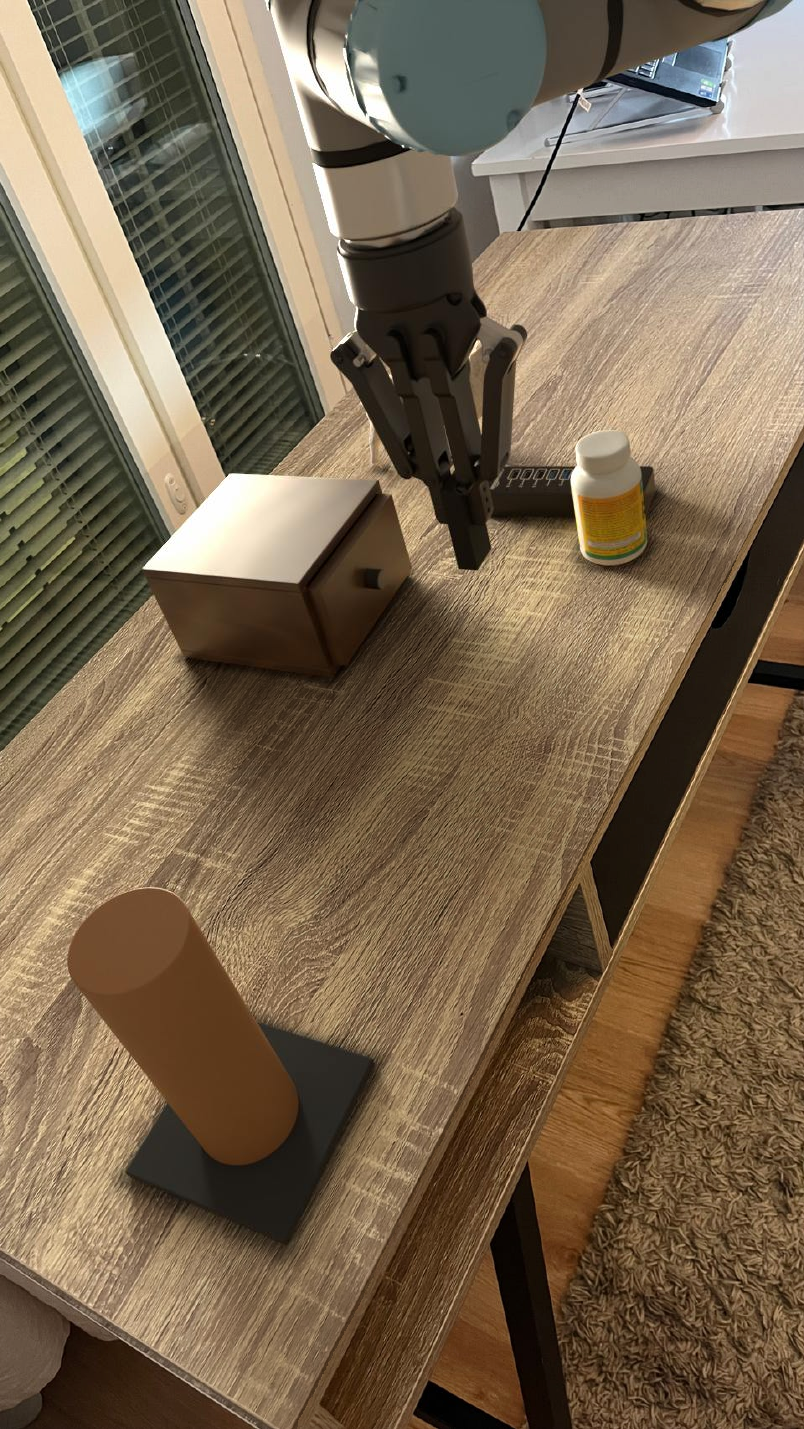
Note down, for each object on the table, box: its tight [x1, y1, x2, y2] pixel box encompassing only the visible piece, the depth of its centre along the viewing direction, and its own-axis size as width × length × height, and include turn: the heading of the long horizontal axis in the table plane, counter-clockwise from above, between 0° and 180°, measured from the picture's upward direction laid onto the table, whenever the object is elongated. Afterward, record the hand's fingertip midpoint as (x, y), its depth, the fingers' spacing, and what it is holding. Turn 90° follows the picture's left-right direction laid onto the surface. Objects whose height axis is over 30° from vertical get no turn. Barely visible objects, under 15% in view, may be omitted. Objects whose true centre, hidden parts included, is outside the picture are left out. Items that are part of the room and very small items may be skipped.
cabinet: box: [141, 473, 384, 679], centre depth 87 cm, size 15×14×9 cm
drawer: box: [306, 493, 413, 667], centre depth 86 cm, size 15×12×7 cm
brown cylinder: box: [66, 886, 299, 1165], centre depth 52 cm, size 6×6×16 cm
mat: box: [125, 1020, 376, 1245], centre depth 57 cm, size 10×10×1 cm
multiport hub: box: [488, 465, 657, 518], centre depth 92 cm, size 4×14×2 cm, turn 68°
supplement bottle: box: [571, 429, 648, 566], centre depth 83 cm, size 5×5×10 cm
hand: (475, 558), depth 77 cm, fingers closed
